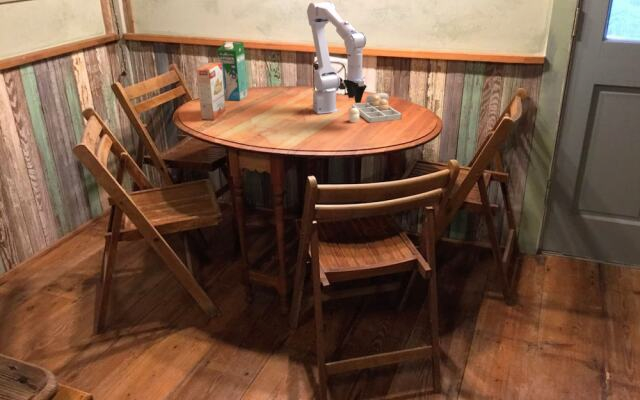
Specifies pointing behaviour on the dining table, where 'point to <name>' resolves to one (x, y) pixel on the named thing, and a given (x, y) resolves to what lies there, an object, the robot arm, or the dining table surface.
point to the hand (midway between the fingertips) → (354, 100)
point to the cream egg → (354, 115)
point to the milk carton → (233, 70)
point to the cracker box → (211, 90)
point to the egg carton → (376, 113)
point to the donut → (382, 95)
